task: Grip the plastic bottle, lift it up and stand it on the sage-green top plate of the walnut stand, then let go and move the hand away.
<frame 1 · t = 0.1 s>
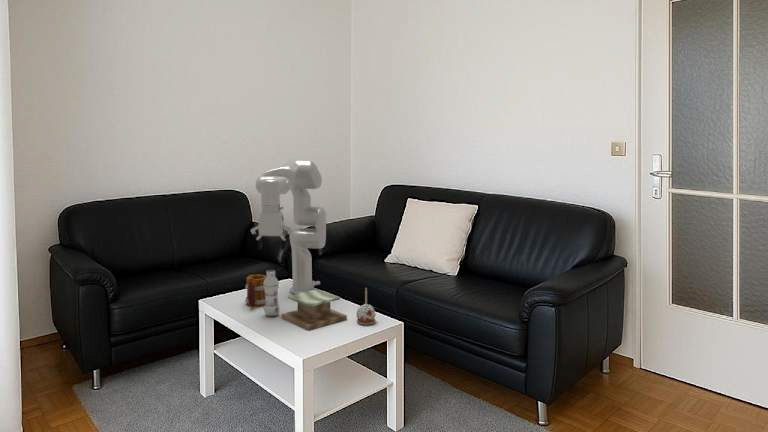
hand: (271, 249, 250), 31 cm above the table, tool pointing down, fingers open, 9 cm apart
walnut stand: (314, 319, 258), on the table
decorative ornament: (366, 323, 254), on the table
plastic bottle: (272, 315, 262), on the table
mug: (256, 305, 276), on the table
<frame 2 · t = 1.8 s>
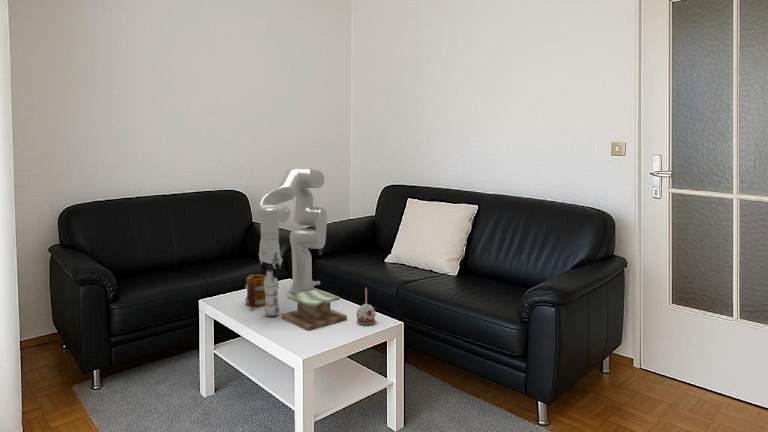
hand: (270, 275, 259), 18 cm above the table, tool pointing down, fingers open, 9 cm apart
nothing on the table moved.
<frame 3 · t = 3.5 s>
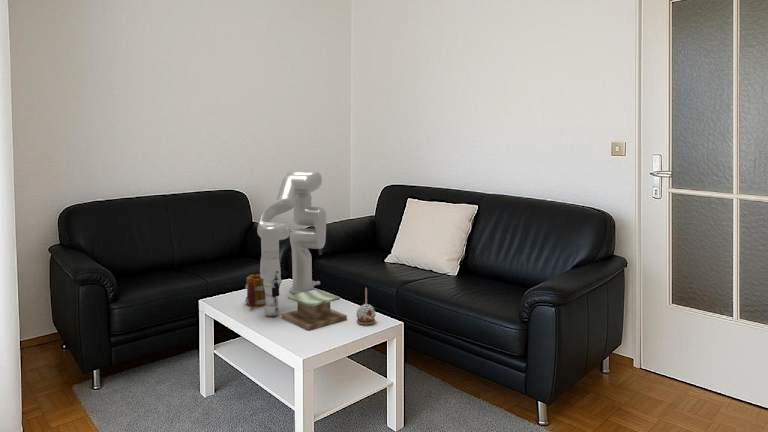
hand: (271, 294, 261), 10 cm above the table, tool pointing down, fingers closed on plastic bottle, 6 cm apart
plastic bottle: (272, 315, 262), on the table, touching gripper
everything else where it was.
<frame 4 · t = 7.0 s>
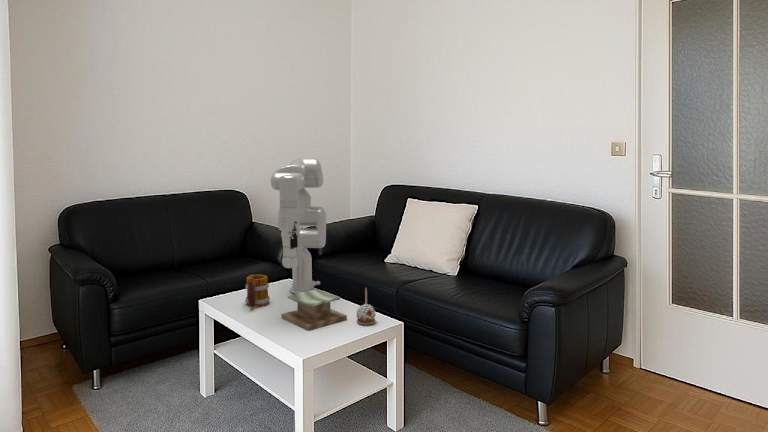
hand: (289, 245, 255), 32 cm above the table, tool pointing down, fingers closed on plastic bottle, 6 cm apart
plastic bottle: (290, 268, 257), point 22 cm above the table, touching gripper
everything else where it was.
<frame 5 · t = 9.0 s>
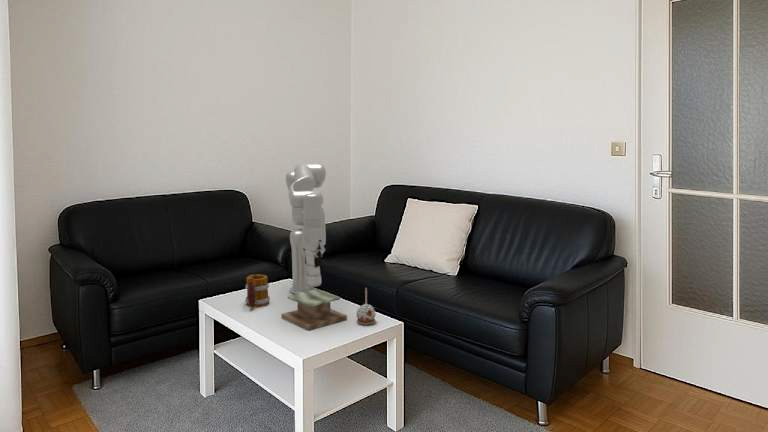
hand: (313, 264, 254), 24 cm above the table, tool pointing down, fingers closed on plastic bottle, 6 cm apart
plastic bottle: (313, 286, 255), point 14 cm above the table, touching gripper
everything else where it was.
when the fingers open (21 cm above the table, at t = 10.5 s): plastic bottle drops 1 cm, resting on walnut stand.
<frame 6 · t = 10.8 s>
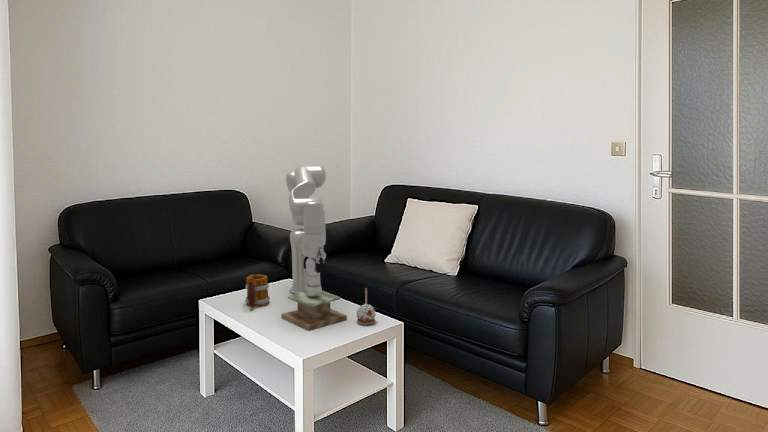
hand: (313, 270, 254), 22 cm above the table, tool pointing down, fingers open, 8 cm apart
plastic bottle: (313, 297, 256), point 10 cm above the table, touching walnut stand
everything else where it was.
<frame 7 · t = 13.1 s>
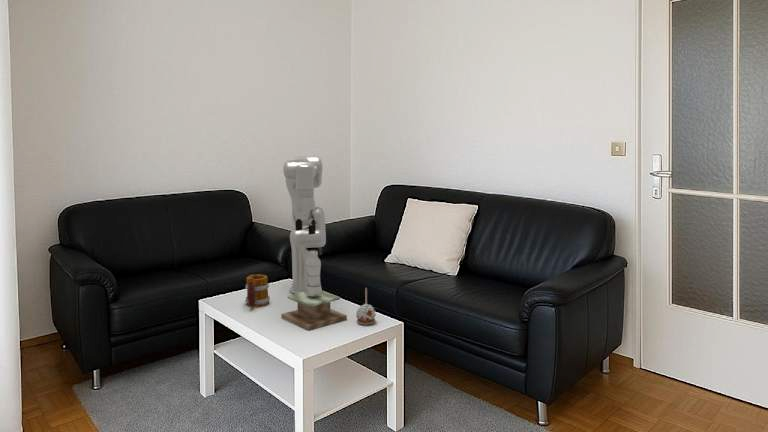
hand: (305, 232, 260), 36 cm above the table, tool pointing down, fingers open, 9 cm apart
nothing on the table moved.
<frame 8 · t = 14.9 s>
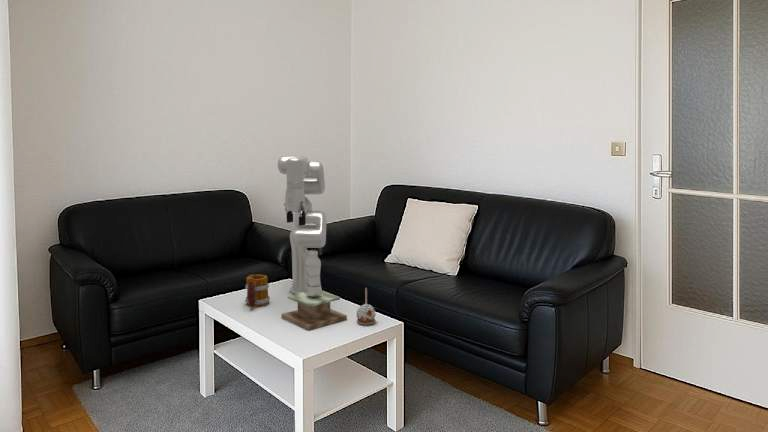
hand: (296, 223, 270), 38 cm above the table, tool pointing down, fingers open, 9 cm apart
nothing on the table moved.
at the end: plastic bottle inside the target area on the walnut stand (0.1 cm from its centre), point 9.8 cm above the walnut stand's base; plastic bottle tilted 0°; the gripper is holding nothing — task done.
